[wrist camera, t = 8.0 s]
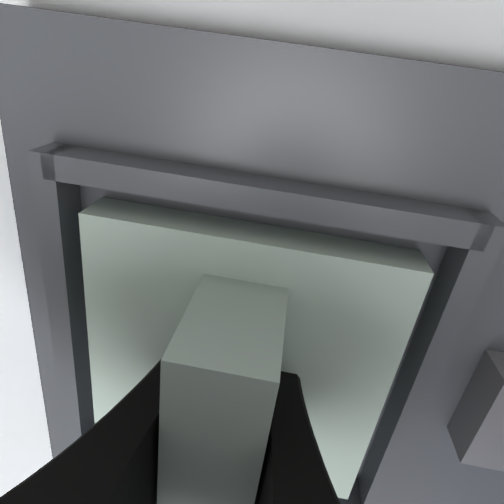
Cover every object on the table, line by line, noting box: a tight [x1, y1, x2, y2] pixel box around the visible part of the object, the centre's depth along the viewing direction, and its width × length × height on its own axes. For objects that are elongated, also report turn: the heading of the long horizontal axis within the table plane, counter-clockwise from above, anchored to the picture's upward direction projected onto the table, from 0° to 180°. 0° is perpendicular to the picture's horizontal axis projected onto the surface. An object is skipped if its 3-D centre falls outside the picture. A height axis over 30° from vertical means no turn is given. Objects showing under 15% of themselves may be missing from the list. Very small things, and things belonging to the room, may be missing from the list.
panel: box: [0, 3, 504, 504], centre depth 11 cm, size 20×16×3 cm
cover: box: [78, 197, 434, 504], centre depth 10 cm, size 8×8×4 cm
